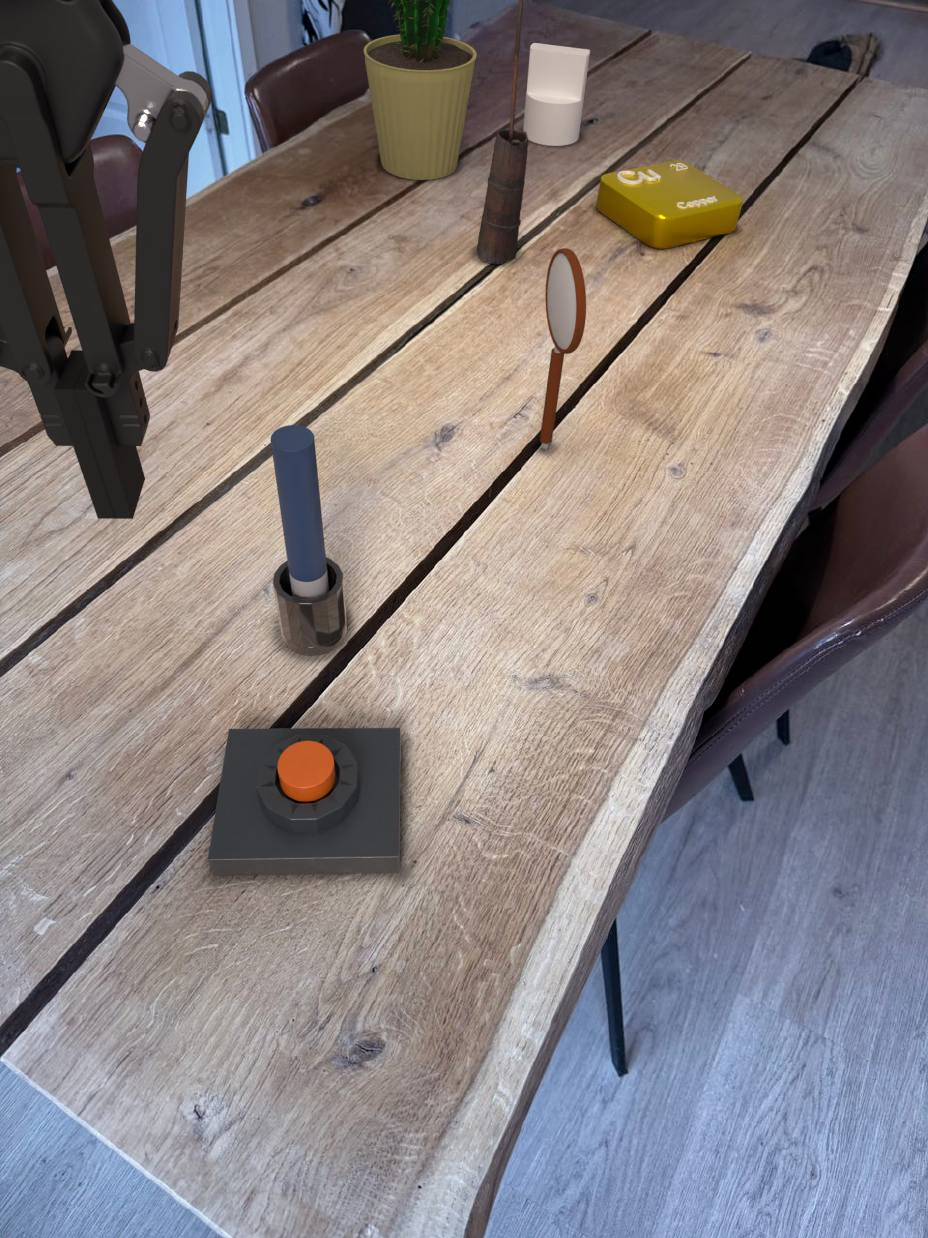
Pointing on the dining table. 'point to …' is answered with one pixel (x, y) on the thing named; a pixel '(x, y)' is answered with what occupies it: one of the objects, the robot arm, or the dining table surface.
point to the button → (306, 771)
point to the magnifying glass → (562, 326)
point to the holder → (311, 613)
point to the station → (308, 806)
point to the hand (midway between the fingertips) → (121, 497)
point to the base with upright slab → (555, 94)
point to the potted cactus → (419, 91)
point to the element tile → (668, 204)
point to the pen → (300, 510)
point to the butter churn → (505, 183)
